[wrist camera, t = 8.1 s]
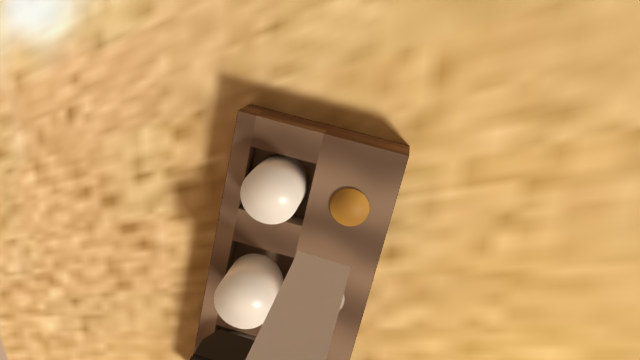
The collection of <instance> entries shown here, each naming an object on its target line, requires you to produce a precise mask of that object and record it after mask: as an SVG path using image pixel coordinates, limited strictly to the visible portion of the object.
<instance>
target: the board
mask: <svg viewBox="0 0 640 360" xmlns="http://www.w3.org/2000/svg"><path fill="white" fill-rule="evenodd" d="M409 147H410V146H407V145H403V144H399V143H395V142H392V141H388V140H384V139H380V138H376V137H372V136H369V135H365V134H361V133H357V132H353V131H350V130H346V129H342V128H338V127H334V126H330V125H327V124H323V123H319V122H315V121H311V120H308V119H304V118H300V117H296V116H292V115H289V114H285V113H281V112H277V111H273V110H269V109H266V108H262V107H258V106H254V105H250V104H249V105H247V106H246V107H244V108H243V109H241V110H239V111H238V116H237V121H236V127H235V132H234V138H233V143H232V148H231V154H230V159H229V165H228V170H227V176H226V181H225V187H224V192H223V197H222V203H221V208H220V214H219V219H218V225H217V230H216V235H215V241H214V246H213V252H212V257H211V263H210V268H209V274H208V279H207V284H206V290H205V295H204V301H203V306H202V312H201V317H200V322H199V328H198V333H197V339H196V344H195V350H194V352H195V351H196V349H197V348H198V346H199V344H200V343H201V341H202V340H203V339H204V338H206V337H207V336H209V335H211V334H212V333H214V332H216V331H217V330H219V329H220V330H223V331H227V330H228V329H232V330H236V331H239V332H243V333H246V334H249V335H253V336H256V337H257V335H258V333H259V331H260V329H261V327H262V325H263V324H262V325H260V326H258V327H256V328H252V329H240V328H236V327H233V326H231V325H229V324H228V323H226V322H225V321H224V320H223V319H222V318H221V317H220V316H219V314H218V313H217V311H216V308H215V305H214V294H215V290H216V288H217V287H218V285H219V284H220V282H221V281H222V279H223V278H224V277H225V275H226V274H227V272H228V271H229V269H230V268H231V267H232V265H233V264H234V262H235V261H236V260H237V259H238V258H240V257H241V256H244V255H246V254H254V253H255V254H261V255H264V256H266V257H268V258H270V259H272V260H273V261H274V262H275V263H276V264H277V265H278V267H279V268H280V270H281V273H282V276H283V281H284V279H285V277H286V275H287V273H288V271H289V269H290V267H291V265H292V263H293V261H294V259H295V257H296V255H297V252H298V251H300V252H303V253H306V254H310V255H313V256H317V257H320V258H323V259H327V260H330V261H333V262H337V263H340V264H344V265H347V266H350V267H351V268H350V272H349V276H348V280H347V283H346V287H345V291H344V294H343V298H342V302H341V306H340V309H339V313H338V317H337V320H336V324H335V328H334V332H333V335H332V339H331V343H330V347H329V350H328V354H327V358H326V360H350V358H351V354H352V351H353V347H354V344H355V340H356V337H357V333H358V330H359V327H360V323H361V320H362V316H363V313H364V309H365V306H366V302H367V299H368V296H369V292H370V289H371V285H372V282H373V278H374V275H375V271H376V268H377V264H378V261H379V258H380V254H381V251H382V247H383V244H384V240H385V237H386V233H387V230H388V227H389V223H390V220H391V216H392V213H393V209H394V206H395V202H396V199H397V196H398V192H399V189H400V185H401V182H402V178H403V175H404V171H405V168H406V164H407V161H408V158H409ZM276 153H277V154H281V155H285V156H289V157H292V158H296V159H298V160H299V161H300V162H301V163H302V164H303V165H304V167H305V169H306V171H307V173H308V177H309V186H308V190H307V192H306V194H305V196H304V198H303V199H302V201H301V203H300V205H299V206H298V208H297V210H296V212H295V213H294V214H293V216H292V217H291V218H289V219H288V220H287V221H285V222H283V223H279V224H265V223H261V222H259V221H257V220H255V219H254V218H252V217H251V216H250V215H249V214H248V213H247V211H246V210H245V208H244V207H243V204H242V202H241V197H240V191H241V186H242V183H243V181H244V179H245V178H246V177H247V175H248V174H249V173H250V172H251V171H252V170H253V169H254V168H255V167H256V166H257V165H258V164H259V163H260V162H261V161H262V160H263V159H264V158H266V157H267V156H269V155H272V154H276Z"/></svg>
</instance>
